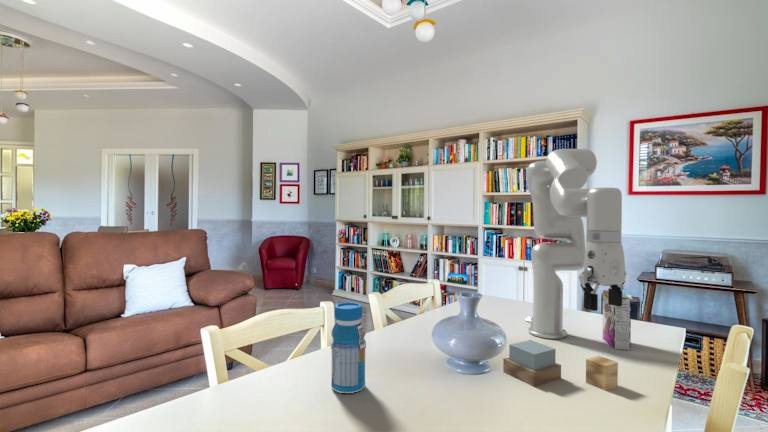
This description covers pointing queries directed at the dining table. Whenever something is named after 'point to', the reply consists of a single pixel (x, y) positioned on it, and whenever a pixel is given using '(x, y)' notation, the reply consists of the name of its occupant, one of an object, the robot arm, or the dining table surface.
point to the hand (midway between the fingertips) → (603, 307)
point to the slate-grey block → (532, 354)
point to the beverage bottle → (348, 349)
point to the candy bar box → (617, 323)
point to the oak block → (602, 372)
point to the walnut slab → (532, 373)
